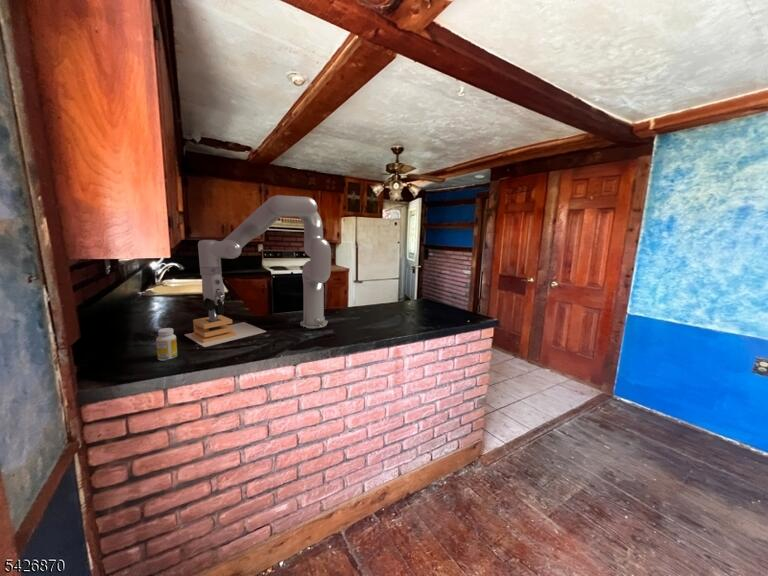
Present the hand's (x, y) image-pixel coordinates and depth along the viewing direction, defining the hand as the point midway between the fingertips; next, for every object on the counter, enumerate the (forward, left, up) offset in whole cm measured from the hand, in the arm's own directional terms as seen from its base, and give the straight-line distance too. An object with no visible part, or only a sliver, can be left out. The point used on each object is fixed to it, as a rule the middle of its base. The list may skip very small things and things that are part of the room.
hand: (214, 312), depth 128 cm
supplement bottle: (-10, +20, -11) cm, 25 cm away
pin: (0, 0, -9) cm, 9 cm away
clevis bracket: (0, 0, -10) cm, 10 cm away
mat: (0, -5, -11) cm, 12 cm away
